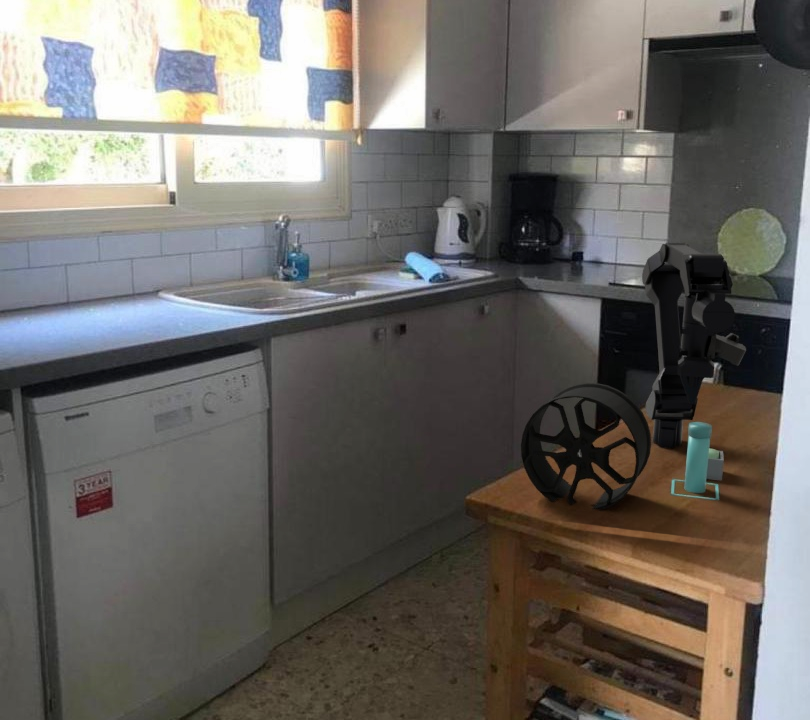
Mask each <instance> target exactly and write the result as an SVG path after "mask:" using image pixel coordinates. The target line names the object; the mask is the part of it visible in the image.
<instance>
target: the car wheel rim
mask: <svg viewBox="0 0 810 720" xmlns="http://www.w3.org/2000/svg"><path fill="white" fill-rule="evenodd" d="M570 398H578V399H580V400H579V401H578V402H577V403H576V404H575V405H574V406H573V407H574V409H573V410H574V413H575V416H576V417H575V418H576V422H577V426H578V432H579V436H578V437H576V436H575V435H574V433H573V431H572V430H571V427H570V423H569V420H568V418H567V415H566V411H565V406H564V405H563V404H560V403H558V402H556V401H558V400H564V399H570ZM585 402H590V403H592V404H593V403H594V404H598V405H599V406H601V407H603V408H605V409H606V410H608V411H609V412H611V413H612V414H613V415H614V417H615V421H614V422H613V423H612V424H610V425H608V426H606V427H605V428H603V429H599V430H598V429H596V428H595V427H594V428H593V427H591V426H590V425H589V424H587V423H586V420H585V415H584V411H583V406H582V404H583V403H585ZM550 406H551V407H552V408H553V407H554V408H557V409H558V411H559V414H560V417H561V420H562V424H563V428H562V429H561V431H560V432H558V433H557V434H555V435H547V434H543V433H541V425H542V421H543V418H544V415H545V414H546V412H547V410H548V408H549V407H550ZM620 420H622V421H623V423H624V424H625V425H626V427H627V428H628V431H629V433H630V434H631V436H632V438H633V439H630V438H629V437H627V436H625V437H623V438H620V439H618V440H616V441H614V442H612V443H610V444H608V445H606V446H604V447H601V446H595V445H594V443H595V442H596V440H598V439H599V438H601V437H603V436H605V435H606V434H608V433H609V432H612V431H613V430H615V429H617V428H618V427H619V426H620V422H621V421H620ZM542 443H548V444H552V445H558V446H560V447H562V448H563V449H565V451H560V452H556V451H555V452H554V451H547V450H546V451H545V450H543V448H542V446H543V445H542ZM624 444H627V445H629V446H630V447H631V448H632V449H633V450H634V453H635V465H634V466H635V467H634V473H633V475H632V476H629V477H627V478H626V477H624V476H622V475H621V474H620V473H619V472H618V471H616V469H614V468H613V467H612V466H611V465H610V454H611V450H614V449H615V448H617V447H620V446H621V445H624ZM651 448H652V436H651V430H650V425H649V423H648V421H647V419H646V417H645V414H644V412H643V410H642V409H641V408H640V407H639V406H638V405H637V403H636V402H635V401H634V400H633V399H632V398H631V397H630V396H628V395H626V393H624V392H622V391H621V390H619V389H618V388H615V387H612V386H610V385H608V384H601V383H597V382H596V383H595V382H585V383H577V384H574V385H572V386H569V387H566V388H565V389H563V390H562V391H560V392H559V393H557V394H556V395H555V396H553V397H552V398H551V399H550V400H549V401H547V402H545V403H544V404H542V405H541V406H540V407H539V408H538V409H537V410H536V411H535V412H534V413H532V415H531V417H530V418H529V420H528V421H527V423H526V425H525V427H524V429H523V432H522V435H521V443H520V454H521V456H520V457H521V460H522V464H523V468H524V471H525V473H526V475H527V477H528V479H529V481H530V482H531V483H532V484H533V485H534V487H535V489H536V490H537V491H538V492H539V493H540V494H542V496H543V497H544V498H545V499H547V500H549V501H550V502H552V503H556V502H557V501H558V499H564V498H565V497H566V500H567V502H568V504H569V506H573V504H576V503H577V501H576V499H575V494H576V491H577V488H578V485H579V482H580V481H583V480H590V479H591V480H593V481H595V482H596V484H597V485H598V486H599V487H601V488H602V489H603V490H604V492H603V493H602V495H601V496H600V497H599V499H598V500H597V501H596V503H595V504H590V506H591V507H592V508H591V509H592V510H596V511H603V510H605V509H608V508H610V507H612V506H614V505H615V504H617V503H618V502H620V501H622V499H624V497H625V496H626V495H627V494H628V493H629V491H631V489H632V487H633V486H634V484H635V483H636V481H637V479H638V478H639V476H640V475H641V473H642V472H643V471H644V469H645V468H646V466H647V463H648V460H649V458H650V455H651ZM547 457H550V458H551V459H553V460H554V462H555V464H556V465H557V467H558V469H559V473H558V472H557V471H556V470H555V469H554V468H553V467H552V466H551V464H550V462H549V461H548V460H547ZM592 463H593V464H595V465H596V466H597V467H599V468H600V469H601V470H602V472H604V473H606V474H607V475H608V476H609V477H611V479H612V480H614V481H615V482H616V483H617V484H618V485H622V486H620V487H618V488H614V489H613V488H611V487H612V486H609V484H607V483H606V481H605V480H603V479H602V478H601V477H600V475H598V474H597V473H596V472H595V470H594V468H593V464H592ZM571 466H575V473H574V478H573V480H572V484H570V483H569V482H568V481H567V480H566V479H564V476H565V473H566V471H567V469H568V468H570V467H571Z"/></svg>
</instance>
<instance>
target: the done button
mask: <svg viewBox="0 0 810 720" xmlns="http://www.w3.org/2000/svg"><path fill="white" fill-rule="evenodd" d="M719 451H720V450H717V449H714V448H710V447H709V457H708V458H714V459H718V458H719Z"/></svg>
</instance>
